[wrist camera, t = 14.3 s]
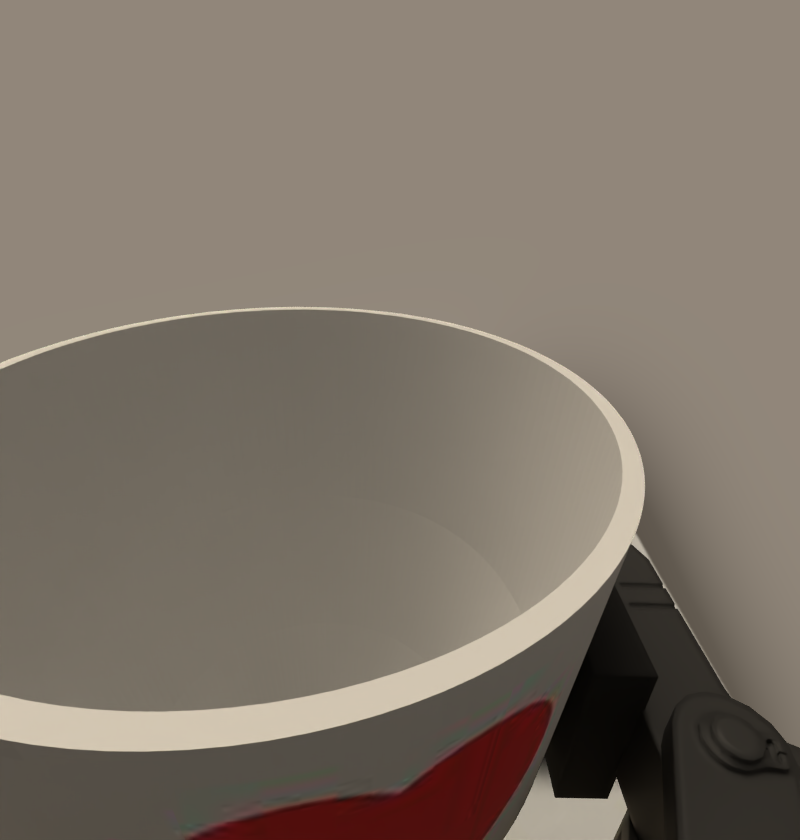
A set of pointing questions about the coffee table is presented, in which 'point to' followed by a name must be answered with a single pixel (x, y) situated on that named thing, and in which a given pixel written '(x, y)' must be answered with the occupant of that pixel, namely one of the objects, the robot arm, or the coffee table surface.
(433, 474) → the cup
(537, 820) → the coffee table surface
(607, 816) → the coffee table surface
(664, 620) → the robot arm
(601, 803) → the coffee table surface
